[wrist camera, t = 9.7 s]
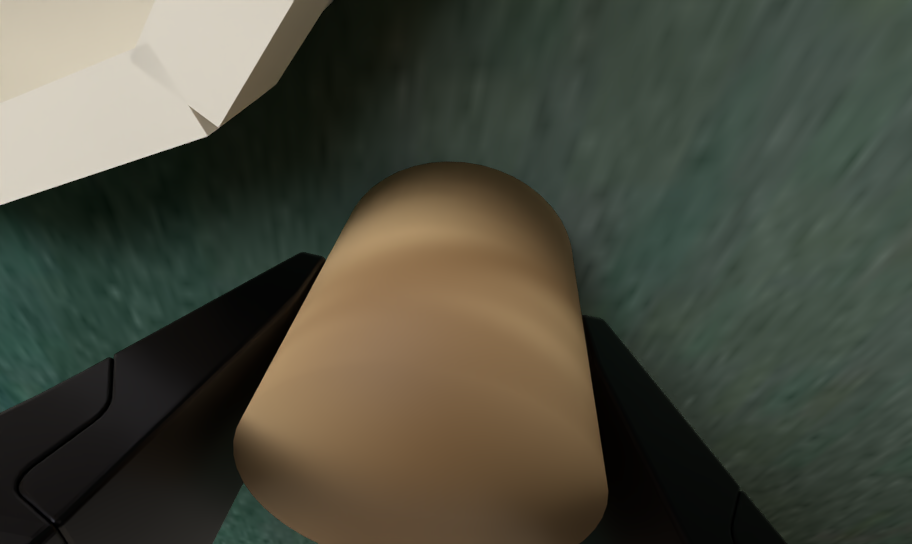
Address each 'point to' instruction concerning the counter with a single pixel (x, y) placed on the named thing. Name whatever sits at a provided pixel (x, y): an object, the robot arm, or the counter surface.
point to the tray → (130, 78)
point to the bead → (434, 376)
